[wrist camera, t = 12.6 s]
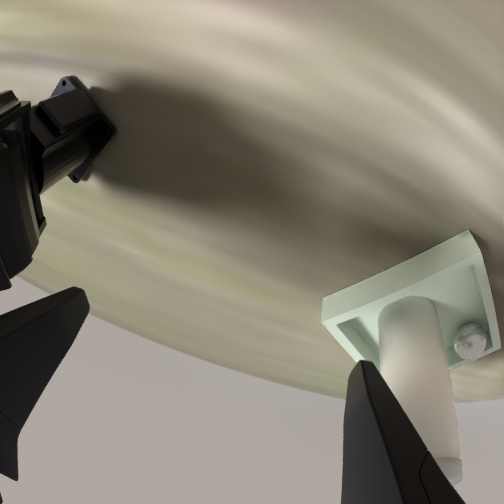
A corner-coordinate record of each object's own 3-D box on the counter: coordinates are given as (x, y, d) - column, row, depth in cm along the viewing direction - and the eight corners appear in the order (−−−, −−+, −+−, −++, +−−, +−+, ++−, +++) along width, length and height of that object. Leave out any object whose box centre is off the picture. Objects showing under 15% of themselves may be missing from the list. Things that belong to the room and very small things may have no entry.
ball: (454, 343, 24) (460, 371, 22) (447, 324, 23) (454, 354, 21) (483, 330, 23) (492, 357, 20) (478, 310, 22) (488, 339, 19)
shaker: (380, 343, 26) (377, 499, 15) (372, 301, 23) (371, 485, 12) (437, 332, 24) (455, 488, 13) (437, 288, 21) (469, 469, 10)
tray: (382, 371, 29) (383, 392, 27) (322, 297, 25) (321, 322, 23) (494, 327, 23) (501, 348, 21) (468, 229, 19) (480, 250, 16)
